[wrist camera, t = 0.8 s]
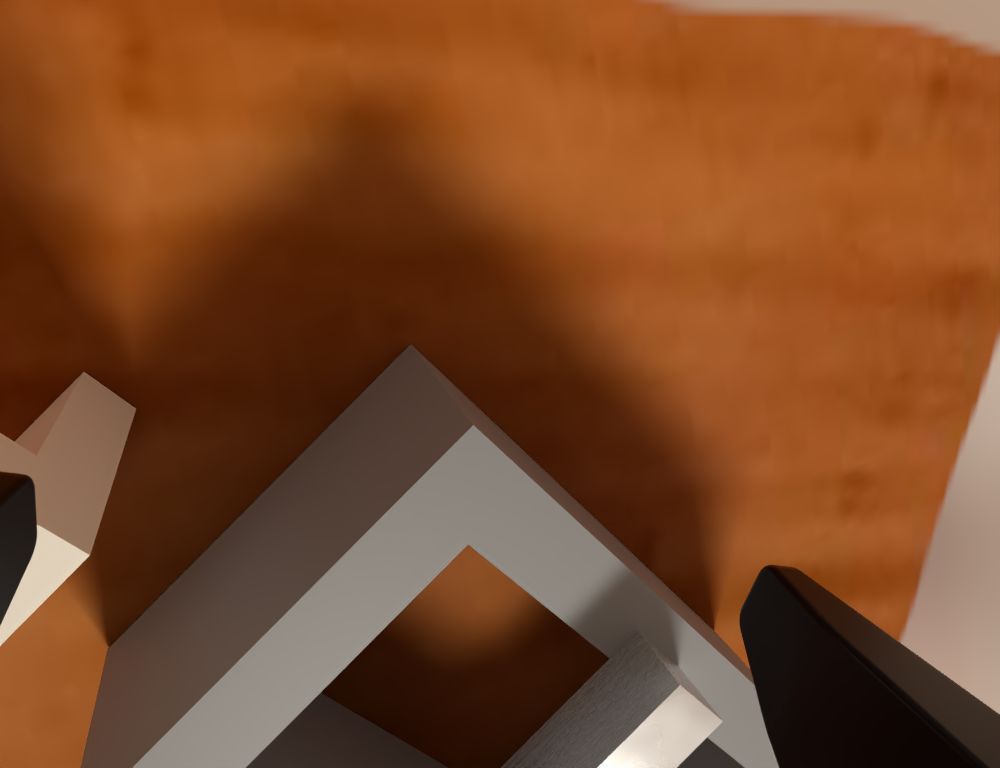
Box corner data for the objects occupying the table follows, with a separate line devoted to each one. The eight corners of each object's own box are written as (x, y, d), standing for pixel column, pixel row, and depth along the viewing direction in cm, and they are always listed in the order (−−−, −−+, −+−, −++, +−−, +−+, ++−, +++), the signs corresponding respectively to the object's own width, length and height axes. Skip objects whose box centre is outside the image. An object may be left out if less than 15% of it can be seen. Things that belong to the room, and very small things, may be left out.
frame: (494, 852, 29) (554, 1022, 23) (107, 648, 21) (65, 834, 15) (715, 631, 28) (826, 751, 23) (410, 344, 21) (473, 424, 15)
